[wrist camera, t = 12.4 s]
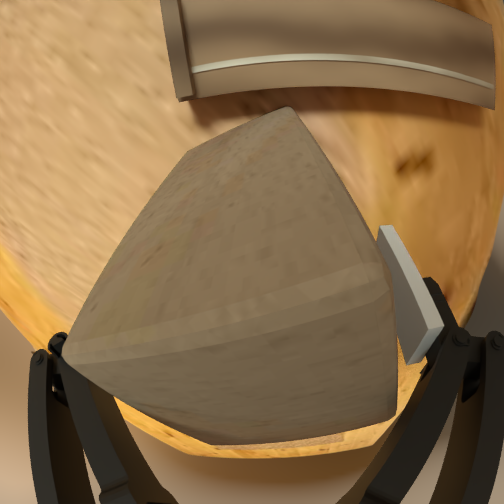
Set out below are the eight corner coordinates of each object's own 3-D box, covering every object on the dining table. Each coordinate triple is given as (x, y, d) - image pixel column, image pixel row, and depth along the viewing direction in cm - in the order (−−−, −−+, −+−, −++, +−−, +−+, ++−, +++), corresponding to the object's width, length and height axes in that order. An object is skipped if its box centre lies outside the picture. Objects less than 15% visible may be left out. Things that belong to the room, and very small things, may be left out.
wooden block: (330, 202, 25) (398, 419, 9) (235, 237, 28) (208, 446, 12) (290, 103, 20) (397, 272, 4) (184, 152, 23) (52, 357, 7)
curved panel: (171, 4, 14) (156, -4, 11) (475, 24, 11) (498, 25, 9) (187, 98, 20) (174, 104, 17) (479, 104, 17) (501, 113, 14)
